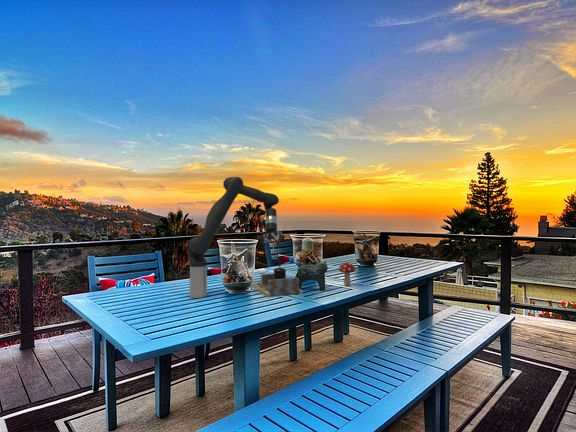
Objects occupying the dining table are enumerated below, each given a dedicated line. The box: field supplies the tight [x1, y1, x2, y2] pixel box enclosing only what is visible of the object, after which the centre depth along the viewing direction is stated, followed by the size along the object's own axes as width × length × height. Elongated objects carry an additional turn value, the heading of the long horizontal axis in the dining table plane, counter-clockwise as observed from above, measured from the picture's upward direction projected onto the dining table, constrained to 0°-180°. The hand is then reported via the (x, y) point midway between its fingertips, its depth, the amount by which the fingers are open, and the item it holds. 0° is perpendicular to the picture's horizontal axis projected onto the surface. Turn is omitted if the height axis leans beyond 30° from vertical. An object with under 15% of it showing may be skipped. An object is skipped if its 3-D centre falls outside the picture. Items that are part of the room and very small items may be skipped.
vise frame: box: [251, 277, 303, 298], centre depth 210 cm, size 22×31×9 cm
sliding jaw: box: [259, 272, 287, 290], centre depth 214 cm, size 16×3×9 cm, turn 113°
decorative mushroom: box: [338, 262, 357, 287], centre depth 221 cm, size 11×11×15 cm
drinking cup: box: [272, 258, 287, 279], centre depth 203 cm, size 8×8×20 cm
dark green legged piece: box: [294, 257, 328, 292], centre depth 209 cm, size 20×6×20 cm, turn 84°
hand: (271, 248), depth 214 cm, fingers open, 8 cm apart
